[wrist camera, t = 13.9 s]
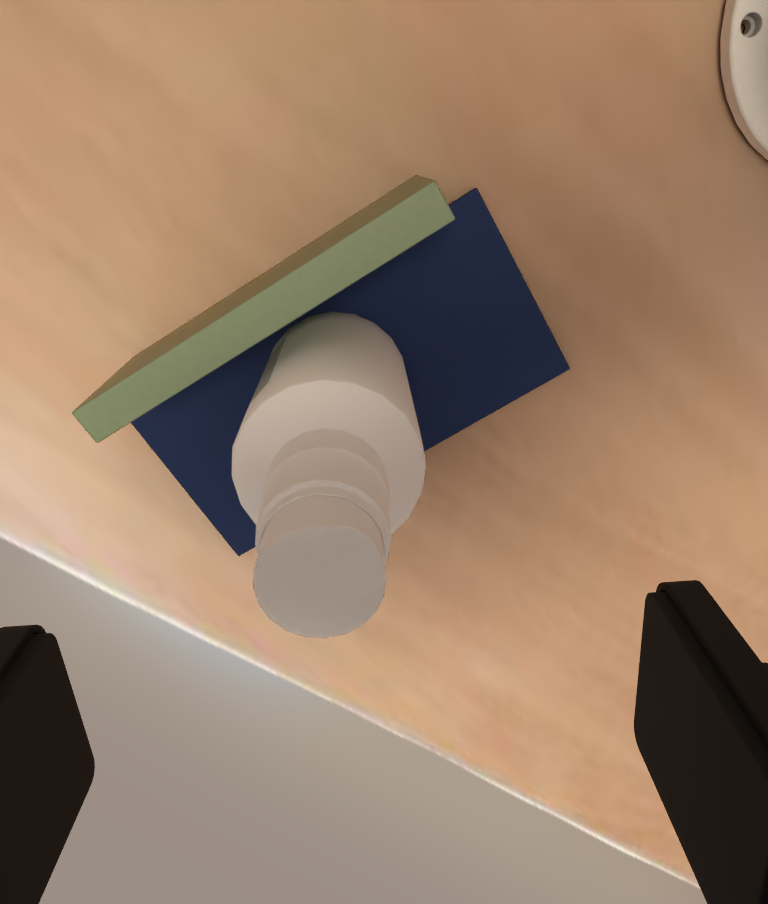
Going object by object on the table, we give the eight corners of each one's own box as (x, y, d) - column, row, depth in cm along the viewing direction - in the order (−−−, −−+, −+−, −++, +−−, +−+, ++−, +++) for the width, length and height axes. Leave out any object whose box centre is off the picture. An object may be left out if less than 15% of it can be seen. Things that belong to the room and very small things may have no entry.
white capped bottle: (237, 370, 34) (126, 571, 18) (345, 279, 33) (335, 406, 16) (329, 468, 36) (306, 729, 20) (434, 388, 35) (504, 598, 18)
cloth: (568, 366, 35) (570, 369, 35) (239, 552, 39) (238, 556, 38) (475, 187, 32) (476, 187, 31) (124, 409, 35) (121, 411, 35)
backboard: (433, 204, 32) (456, 219, 25) (151, 383, 35) (96, 444, 27) (416, 174, 32) (435, 180, 24) (132, 357, 34) (70, 413, 27)
